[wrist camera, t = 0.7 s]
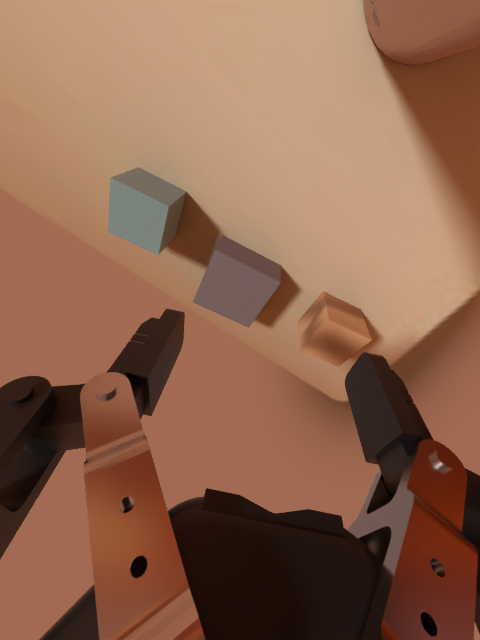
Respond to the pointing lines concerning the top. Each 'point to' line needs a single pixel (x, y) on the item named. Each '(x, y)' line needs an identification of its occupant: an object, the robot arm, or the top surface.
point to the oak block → (332, 330)
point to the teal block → (144, 209)
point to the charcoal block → (237, 282)
